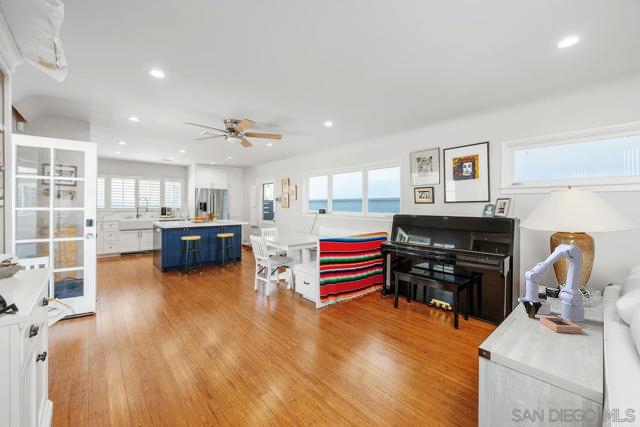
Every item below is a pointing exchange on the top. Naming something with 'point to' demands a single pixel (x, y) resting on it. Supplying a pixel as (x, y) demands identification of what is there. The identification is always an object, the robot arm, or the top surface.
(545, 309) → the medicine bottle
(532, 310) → the wick peg
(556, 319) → the orange square tray
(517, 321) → the top surface
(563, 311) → the robot arm
